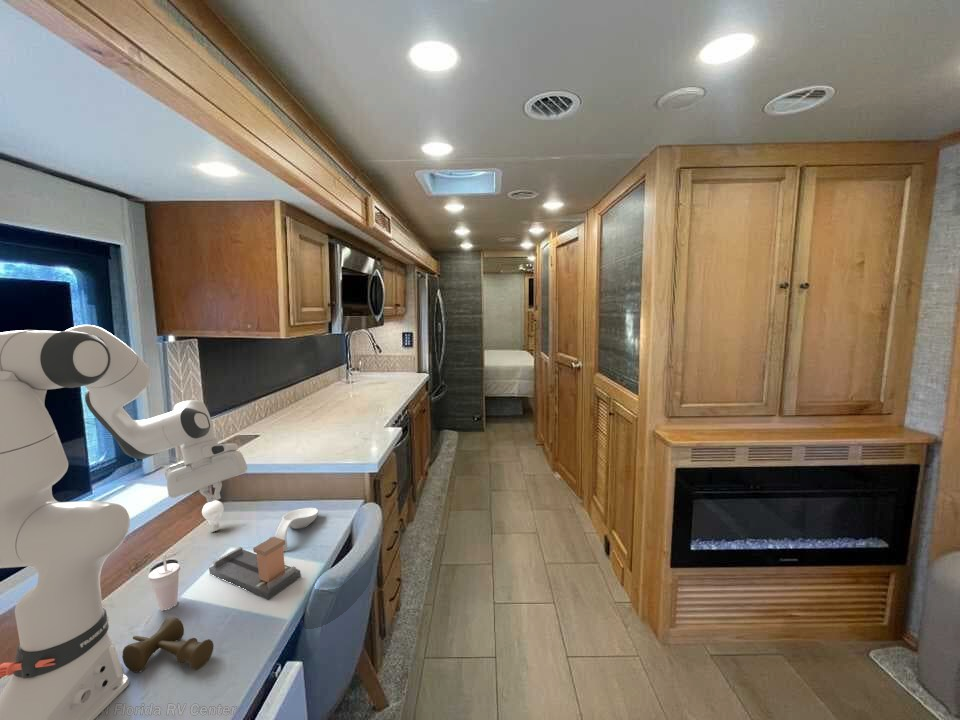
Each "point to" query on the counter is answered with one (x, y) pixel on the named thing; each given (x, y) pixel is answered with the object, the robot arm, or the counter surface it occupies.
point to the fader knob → (270, 559)
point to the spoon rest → (295, 522)
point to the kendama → (167, 647)
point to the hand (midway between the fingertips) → (214, 500)
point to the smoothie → (165, 584)
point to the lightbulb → (213, 514)
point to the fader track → (251, 573)
